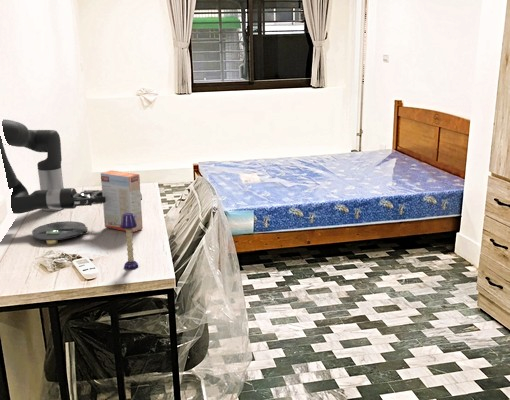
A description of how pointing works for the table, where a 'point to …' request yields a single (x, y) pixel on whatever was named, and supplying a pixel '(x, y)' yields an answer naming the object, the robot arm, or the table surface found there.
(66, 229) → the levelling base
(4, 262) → the table surface
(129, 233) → the toy lamp
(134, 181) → the cracker box
